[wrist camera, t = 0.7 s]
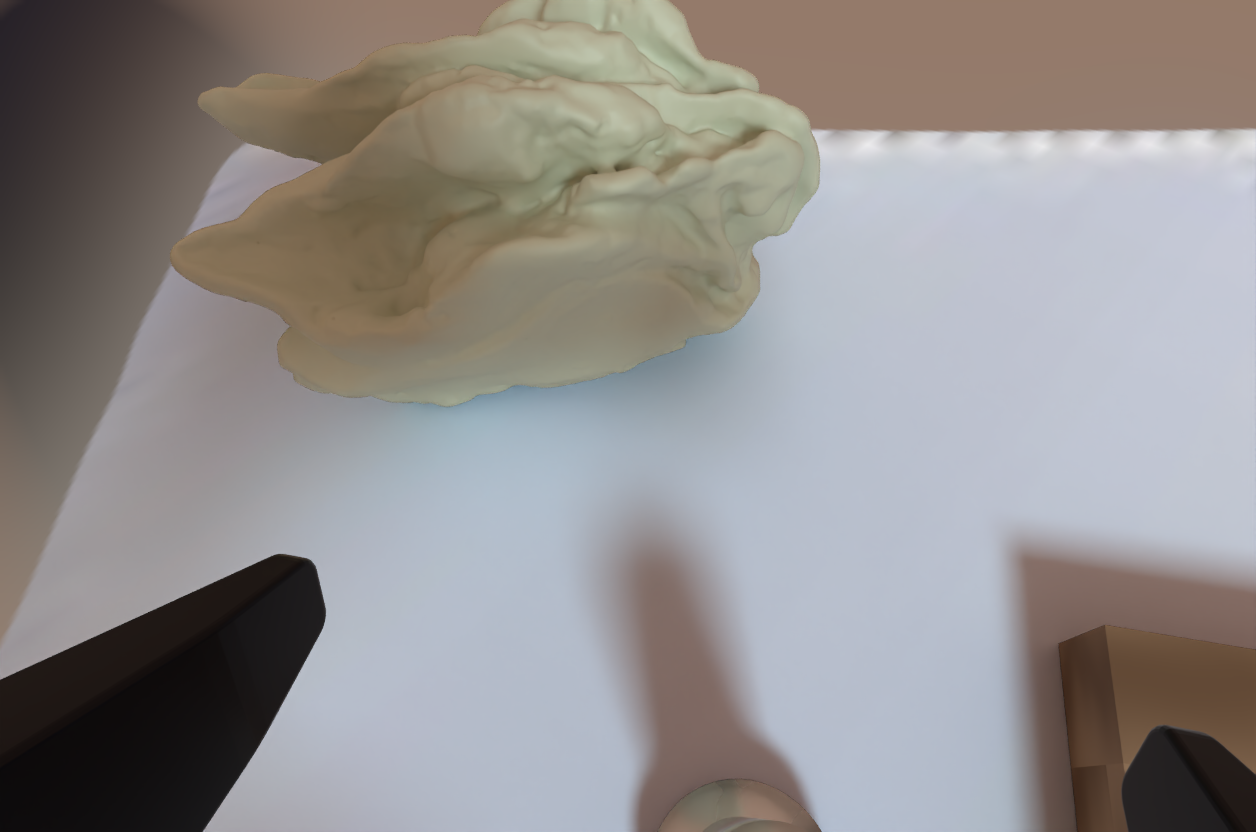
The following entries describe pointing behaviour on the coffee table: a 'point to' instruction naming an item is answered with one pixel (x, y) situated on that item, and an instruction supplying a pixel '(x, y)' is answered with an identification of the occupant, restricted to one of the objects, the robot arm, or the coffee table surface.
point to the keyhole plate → (1147, 707)
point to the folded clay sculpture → (508, 203)
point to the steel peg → (738, 810)
